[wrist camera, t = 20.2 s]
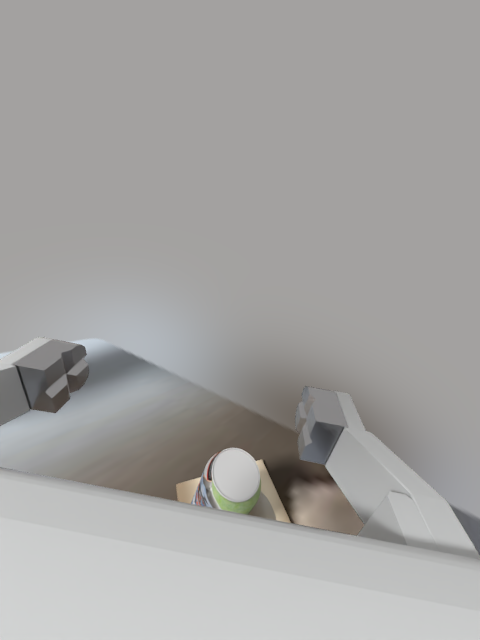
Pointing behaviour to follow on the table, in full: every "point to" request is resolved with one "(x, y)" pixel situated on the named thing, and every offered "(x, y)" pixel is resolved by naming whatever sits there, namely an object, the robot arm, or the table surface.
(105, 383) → the table surface
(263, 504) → the birch mat
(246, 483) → the beverage can
